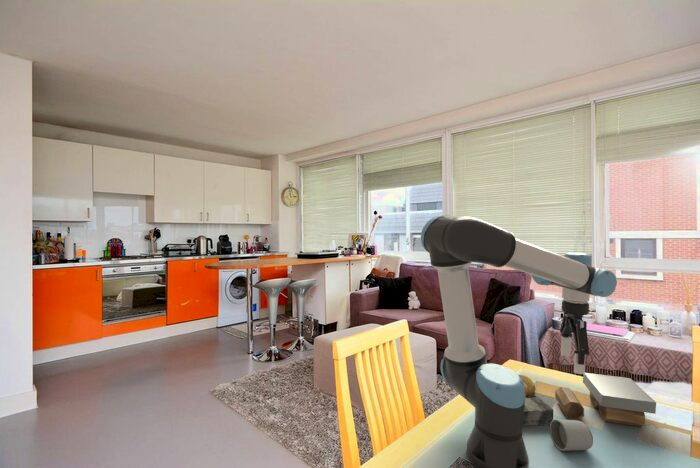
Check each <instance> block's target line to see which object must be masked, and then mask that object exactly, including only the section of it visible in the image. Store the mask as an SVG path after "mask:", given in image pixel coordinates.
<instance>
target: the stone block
mask: <svg viewBox="0 0 700 468" xmlns="http://www.w3.org/2000/svg"><path fill="white" fill-rule="evenodd" d="M553 420H554V409H553V408H552V407H551V406H550V405H549V404H547V403H546V401H543V399H541V398H540V397H539V396H537V397H534V396H533V397H532V398H525V406H524V420H523V427H525V426H545V425H548V426H550V424H551V422H552V421H553Z"/></svg>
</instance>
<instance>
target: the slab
mask: <svg viewBox="0 0 700 468" xmlns="http://www.w3.org/2000/svg"><path fill="white" fill-rule="evenodd" d="M582 375H583V376H582V383H583V385H584V386H585V387H586V388H587V390H588V391H589V393H590V392H591V393H592V395H593V396H594V397H595V399H596V400H597V401H598V402H599V404H600V405H601V406H604V407H611V408H618V409H625V410H632V411H639V412H644V413H645V414H646V413H647V414H655V415H656V411H657V402H656V401H655V399H654V398H652V397H651V396H650V395H649V394H648V393H647V392H646V391H645V390H644V389H643V388H641V387H640V385H638V384H637V383H636V382H635V381H634V380H633V379H631V378H630V377H623V376H616V375H615V376H614V375H606V374H597V373H590V372H585V374H582Z"/></svg>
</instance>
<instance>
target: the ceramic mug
mask: <svg viewBox="0 0 700 468" xmlns="http://www.w3.org/2000/svg"><path fill="white" fill-rule="evenodd" d="M549 432H550V438H551V440H552V442H553V444H554V446H555V447H556V448H557V449H558V450H560V451H562V452H565V451H567V452H569V451H571V452H572V451H587V450H590V449H592V446H593V444H594V436H593V433H592V431H591V429H590V427H589V426H588V425H587V424H586V423H585V422H583V421H580V420H577V419H562V418H561V419H559V418H558V419H557V418H553V421H552V422H551V424H550V425H549Z"/></svg>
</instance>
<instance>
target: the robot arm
mask: <svg viewBox="0 0 700 468" xmlns="http://www.w3.org/2000/svg"><path fill="white" fill-rule="evenodd" d="M420 242H421V246H422V248H423V249H424V250H425V251H426V253H429V259H430V265H431V267H433V268H434V269H435V270H436V271H437V277H438V283H439V290H440V296H441V303H442V310H443V315H444V316H443V317H444V323H445V328H446V329H445V331H446V337H447V344H448V346H447V347H446V348H445V350H444V354H443V358H442V359H441V362H440V373H441V376H442V378H443V379H444V381H445V382H446V384H447V385H448V386H449V387H450V388H451V389H452V390H454V391H455V392H456V393H458V394H459V395H460V396H461V397H462V398H463V399H465V400H466V401H467V402H468V403H469V404H470V405H471V406H473V408H474V425H473V428H472V430H471V433H470V435H469V437H468V440H467V443H466V456H467V455H468V456H467V459H468V460H469V462H470V461H471V462H472V463H471V462H470V463H471V464H472V465H473V466H474V467H475V468H529V465H530V459H529V455H528V452H527V449H526V444H525V441H524V437H523V435H524V433H523V429H524V426H523V420H524V406H525V386H524V382H523V380H522V378H521V377H520V376H519V375H520V374H518V373H517V372H516V371H514V370H513V369H512V368H509V367H507V366H502V365H501V364H497V363H488V362H487V361H488V360H487V355H486V354H487V353H486V350H485V347H483V345H481V344H479V338H478V337H479V336H478V329H477V321H476V314H475V306H474V300H473V293H472V287H471V286H472V284H471V279H470V271H469V266H470V265H471V264H472V263H477V264H482V265H483V264H484V265H489V266H492V267H494V268H502V267H507V268H509V269H510V268H511V269H513V270H515V271H516V270H517V271H519V272H521V273H522V272H523V273H525V274H528V275H530V276H531V278H532V280H533V282H535V283H536V284H537V285H539V286H547V287H548V286H556V287H559V288H562V289H561V290H562V291H561V297H562V300H561V311H562V312H563V317H562V319H561V324H560V329H559V333H560V335H561V348H560V356H561V357H567V358H570V357H571V353H572V338H573V339H574V345H575V350H574V352H573V354H574V362H573V364H574V365H573V366H574V367H573V373H574V374H578V375H583V374H585V373H586V357H587V356H589V355H590V349H589V339H588V331H587V329H588V328H587V326H588V325H587V324H588V323H587V321H586V320H583V316H587V315H589V314H590V303H589V302H590V295H591V296H594V297H600V298H607V297H610V296H612V295H613V294H614V292H615V290H616V288H617V283H618V280H617V276H616V274H615V273H614V272H612V271H611V270H609V269H605V268H602V267H594V266H592V265H593V264H592V256H591V255H590V254H589V253H583V252H566V253H565V254H564V255H562V254H559V253H556V252H553V251H550V250H548V249H545V248H542V247H540V246H538V245H535V244H532V243H529V242H527V241H523V240H521V239H518V238H516V236H515V235H514V233H513V232H511V231H509V230H505V229H504V228H501V227H499V226H497V225H494V224H492V223H490V222H487V221H484V220H482V219H480V218H476V217H474V216H473V217H472V216H466V215H465V216H463V215H461V216H459V215H449V214H445V215H438V216H434V217H432V218H431V219H429V220H428V221H426V223H425V224H424V226H423V227H422V230H421V232H420Z"/></svg>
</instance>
